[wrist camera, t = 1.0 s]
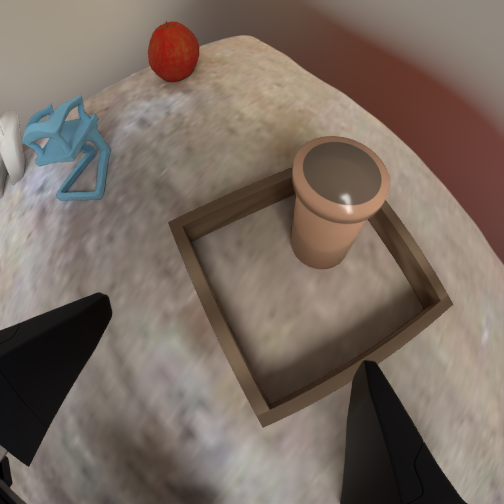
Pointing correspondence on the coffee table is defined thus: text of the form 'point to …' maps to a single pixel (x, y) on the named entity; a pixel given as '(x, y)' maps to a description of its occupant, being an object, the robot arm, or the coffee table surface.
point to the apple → (173, 51)
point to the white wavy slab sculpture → (10, 149)
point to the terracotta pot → (334, 197)
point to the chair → (69, 145)
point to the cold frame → (184, 233)
